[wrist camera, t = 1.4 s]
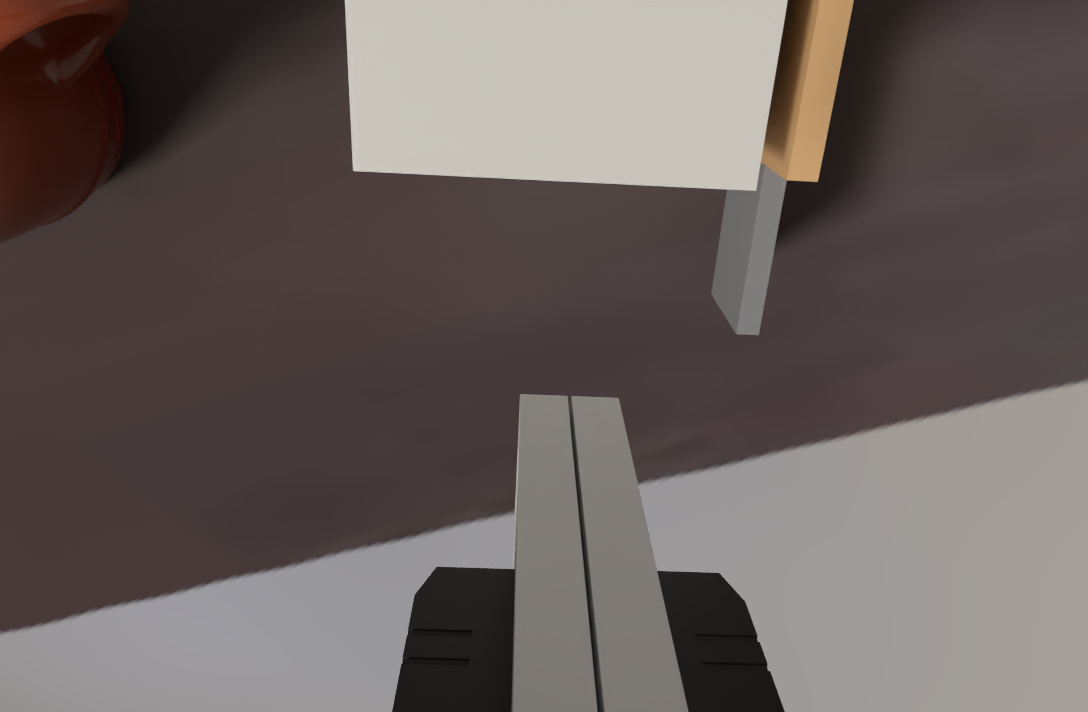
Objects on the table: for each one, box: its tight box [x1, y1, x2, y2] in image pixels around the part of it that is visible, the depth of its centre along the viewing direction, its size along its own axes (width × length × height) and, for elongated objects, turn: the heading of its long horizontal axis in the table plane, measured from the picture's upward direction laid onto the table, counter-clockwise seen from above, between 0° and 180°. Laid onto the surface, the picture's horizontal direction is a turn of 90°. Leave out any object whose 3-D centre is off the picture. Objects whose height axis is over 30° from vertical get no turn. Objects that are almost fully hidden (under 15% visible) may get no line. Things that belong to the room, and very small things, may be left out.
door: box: [711, 0, 854, 335], centre depth 22 cm, size 1×16×8 cm, turn 177°
